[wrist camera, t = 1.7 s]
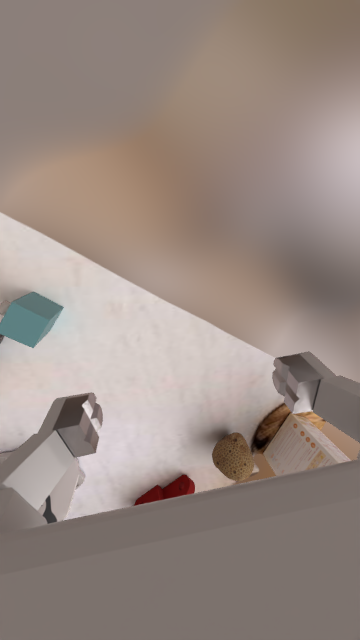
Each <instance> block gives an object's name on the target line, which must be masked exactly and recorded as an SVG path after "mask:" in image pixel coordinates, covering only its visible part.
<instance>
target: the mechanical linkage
mask: <svg viewBox="0 0 360 640" xmlns="http://www.w3.org/2000/svg"><path fill="white" fill-rule="evenodd" d="M194 491H195V485H194V482H193V481H192V480H191V479H190V478H189V477H188V476H187V475H182V476H180V477H179V478H177V479H176V480H175V481H173V482H172V483H170V484H169V485H168V486H166V487H165V488H163V489H162V488H161V487H160V486H158V485H157V486H155V487H154V488H152V489H151V490H150V491H148V492H147V493H145V494H144V495H143V496H141V497H140V498H138V499H137V500H136V502H135V504H134V506H136V505H141V504H145V503H150V502H155V501H160V500H165V499H169V498H174V497H179V496H184V495H188V494H193V493H194Z"/></svg>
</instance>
